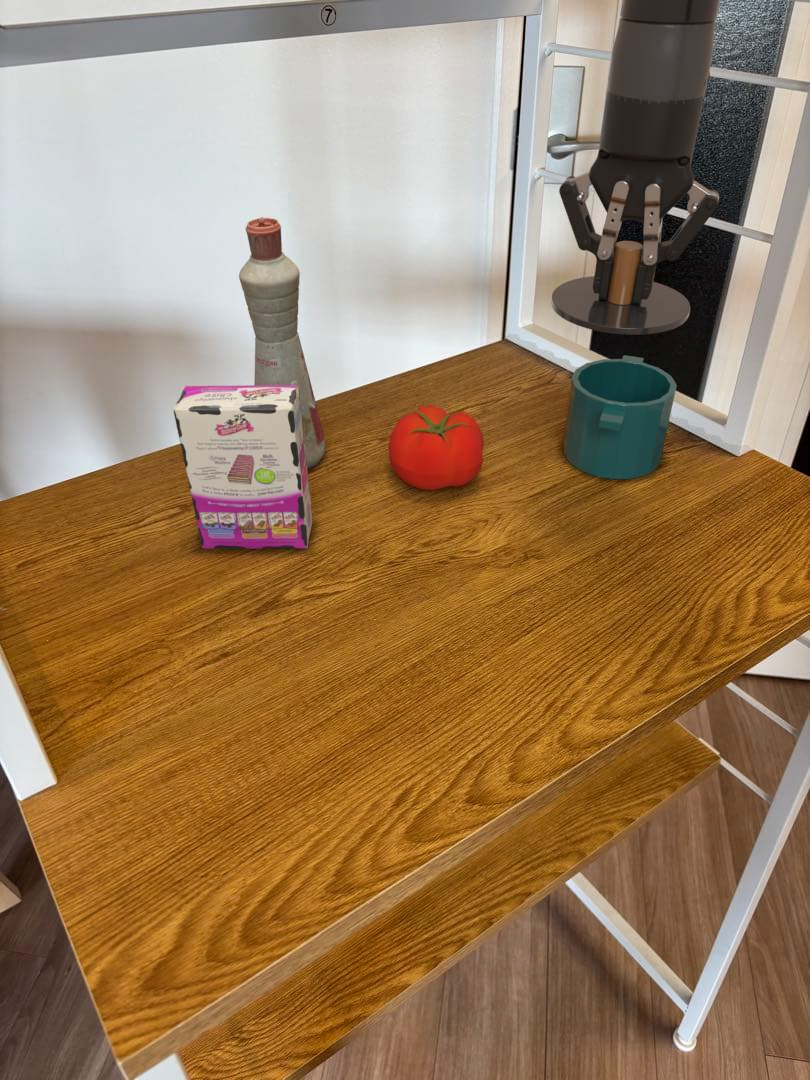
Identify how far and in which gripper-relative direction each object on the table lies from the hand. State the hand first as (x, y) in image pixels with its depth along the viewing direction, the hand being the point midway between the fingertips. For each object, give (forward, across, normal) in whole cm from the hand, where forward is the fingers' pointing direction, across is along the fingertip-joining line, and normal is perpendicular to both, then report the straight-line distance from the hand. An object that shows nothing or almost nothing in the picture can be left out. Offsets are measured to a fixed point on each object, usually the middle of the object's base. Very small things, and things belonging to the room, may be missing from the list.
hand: (620, 299), depth 76 cm
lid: (+1, 0, 0) cm, 1 cm away
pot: (+24, +1, +12) cm, 27 cm away
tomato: (+24, -17, +1) cm, 30 cm away
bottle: (+24, -35, -1) cm, 43 cm away
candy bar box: (+24, -32, -16) cm, 43 cm away
